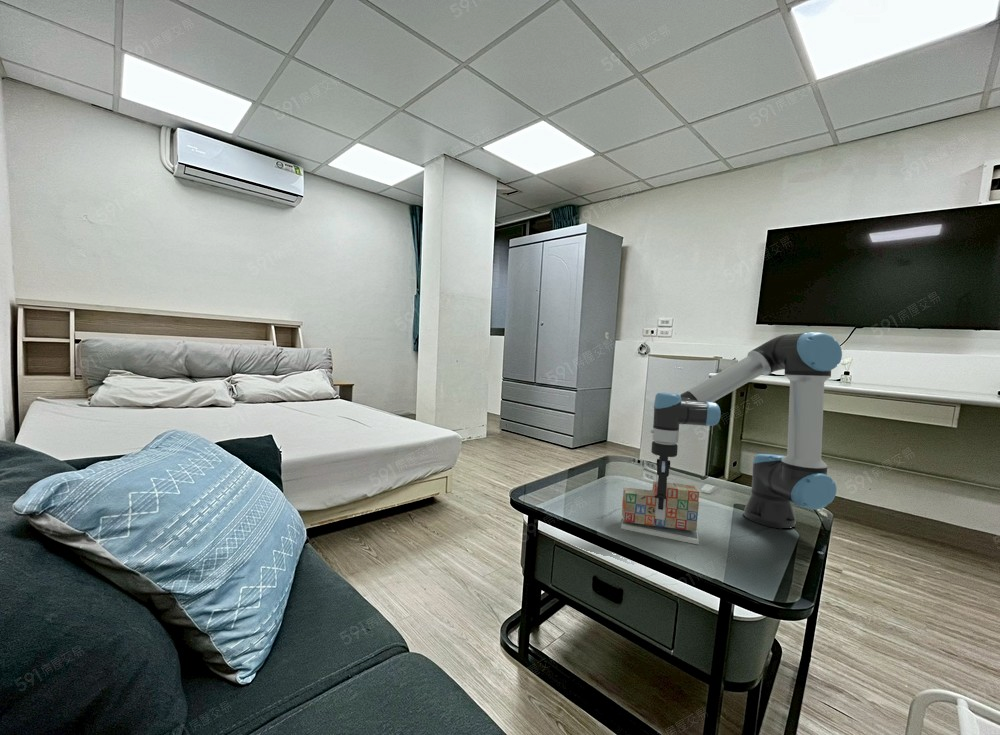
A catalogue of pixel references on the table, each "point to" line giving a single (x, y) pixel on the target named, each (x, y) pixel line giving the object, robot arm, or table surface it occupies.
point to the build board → (663, 532)
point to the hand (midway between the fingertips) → (660, 514)
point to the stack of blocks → (677, 511)
